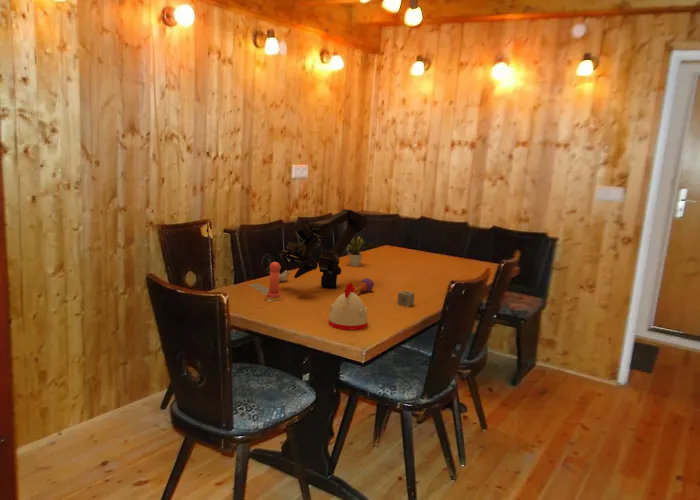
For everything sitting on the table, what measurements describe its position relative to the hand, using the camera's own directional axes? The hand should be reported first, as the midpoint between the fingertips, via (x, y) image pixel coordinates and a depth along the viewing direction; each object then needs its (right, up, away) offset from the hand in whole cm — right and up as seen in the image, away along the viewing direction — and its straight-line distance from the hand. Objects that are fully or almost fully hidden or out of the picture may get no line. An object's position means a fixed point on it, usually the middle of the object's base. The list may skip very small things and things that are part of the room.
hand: (287, 275), depth 234 cm
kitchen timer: (+25, -16, -31) cm, 43 cm away
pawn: (-5, -8, -4) cm, 10 cm away
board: (-10, -7, +4) cm, 13 cm away
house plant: (+28, +2, +71) cm, 76 cm away
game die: (-6, -4, +22) cm, 23 cm away
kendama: (+30, -9, +11) cm, 33 cm away
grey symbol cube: (+49, -12, -2) cm, 50 cm away
